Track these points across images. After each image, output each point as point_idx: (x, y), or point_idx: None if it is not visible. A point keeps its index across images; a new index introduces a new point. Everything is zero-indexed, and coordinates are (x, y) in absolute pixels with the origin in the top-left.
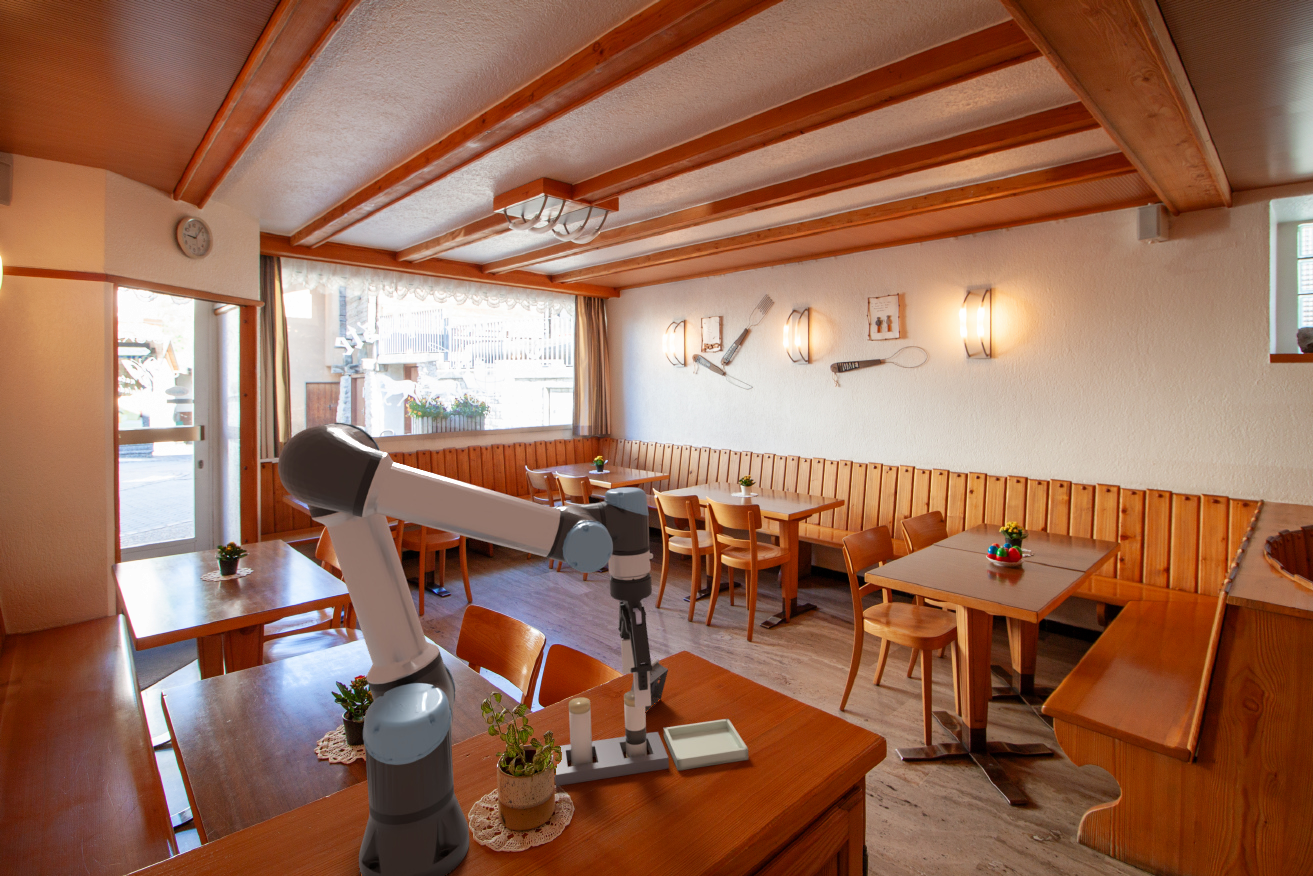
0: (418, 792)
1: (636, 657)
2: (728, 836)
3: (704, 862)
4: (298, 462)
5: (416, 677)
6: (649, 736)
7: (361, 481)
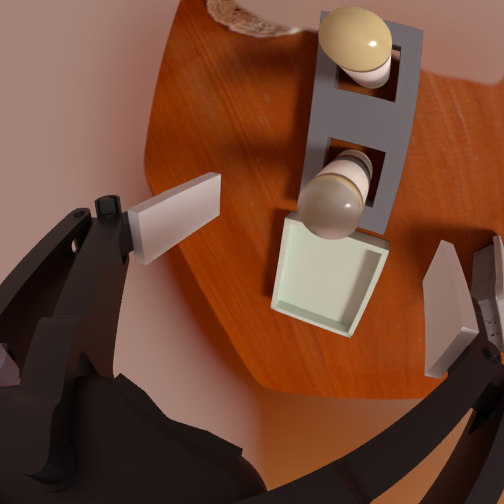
0: None
1: (49, 232)
2: None
3: (145, 164)
4: None
5: None
6: (377, 214)
7: None
